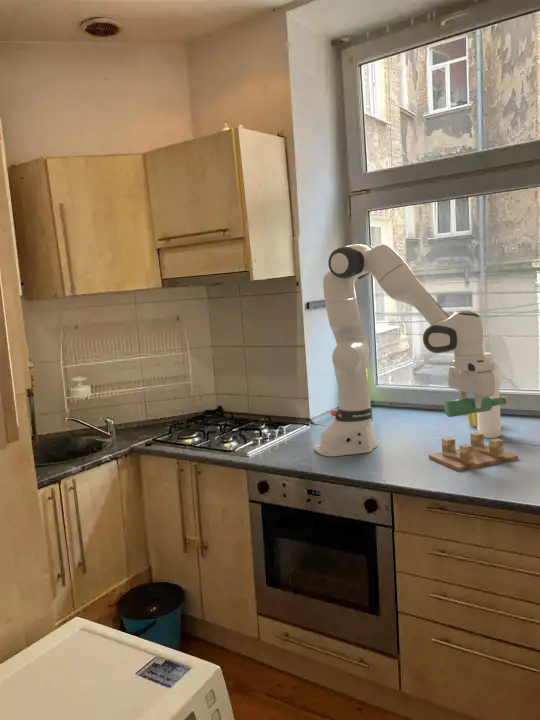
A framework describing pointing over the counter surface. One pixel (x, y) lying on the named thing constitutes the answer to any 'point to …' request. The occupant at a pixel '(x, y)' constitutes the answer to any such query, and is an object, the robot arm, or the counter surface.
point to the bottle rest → (472, 453)
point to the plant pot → (473, 419)
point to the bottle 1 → (467, 405)
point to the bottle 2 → (490, 413)
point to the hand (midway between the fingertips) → (471, 406)
